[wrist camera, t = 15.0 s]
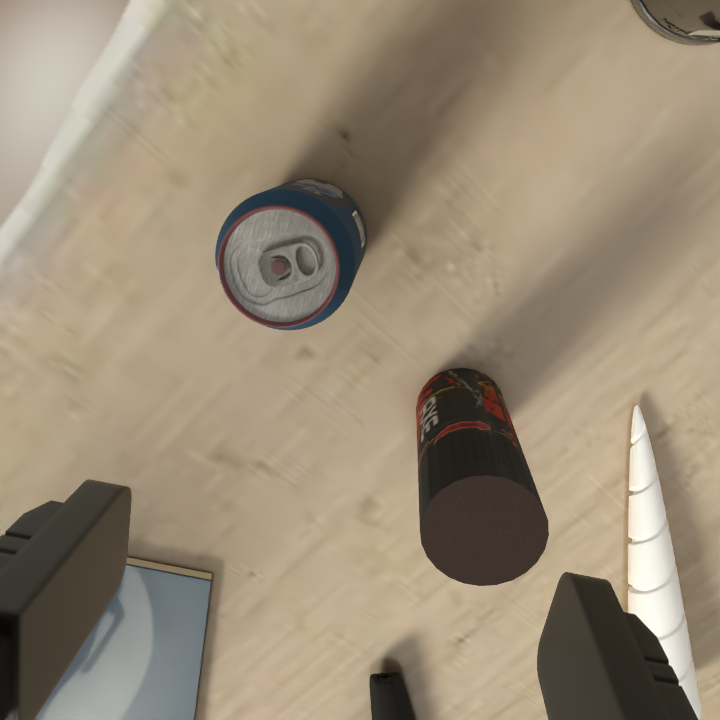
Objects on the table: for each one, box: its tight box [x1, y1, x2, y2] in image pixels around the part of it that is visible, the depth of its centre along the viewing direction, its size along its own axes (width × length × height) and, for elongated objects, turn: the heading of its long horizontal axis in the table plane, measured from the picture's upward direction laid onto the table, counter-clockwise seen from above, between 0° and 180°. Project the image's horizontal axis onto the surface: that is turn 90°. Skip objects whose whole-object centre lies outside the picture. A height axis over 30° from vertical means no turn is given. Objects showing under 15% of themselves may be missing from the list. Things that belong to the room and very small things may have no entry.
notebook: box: [34, 557, 212, 720], centre depth 54 cm, size 21×15×1 cm
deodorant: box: [416, 368, 549, 586], centre depth 38 cm, size 6×6×15 cm
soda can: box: [215, 179, 367, 330], centre depth 37 cm, size 7×7×12 cm
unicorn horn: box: [628, 405, 701, 720], centre depth 46 cm, size 5×24×5 cm, turn 7°
